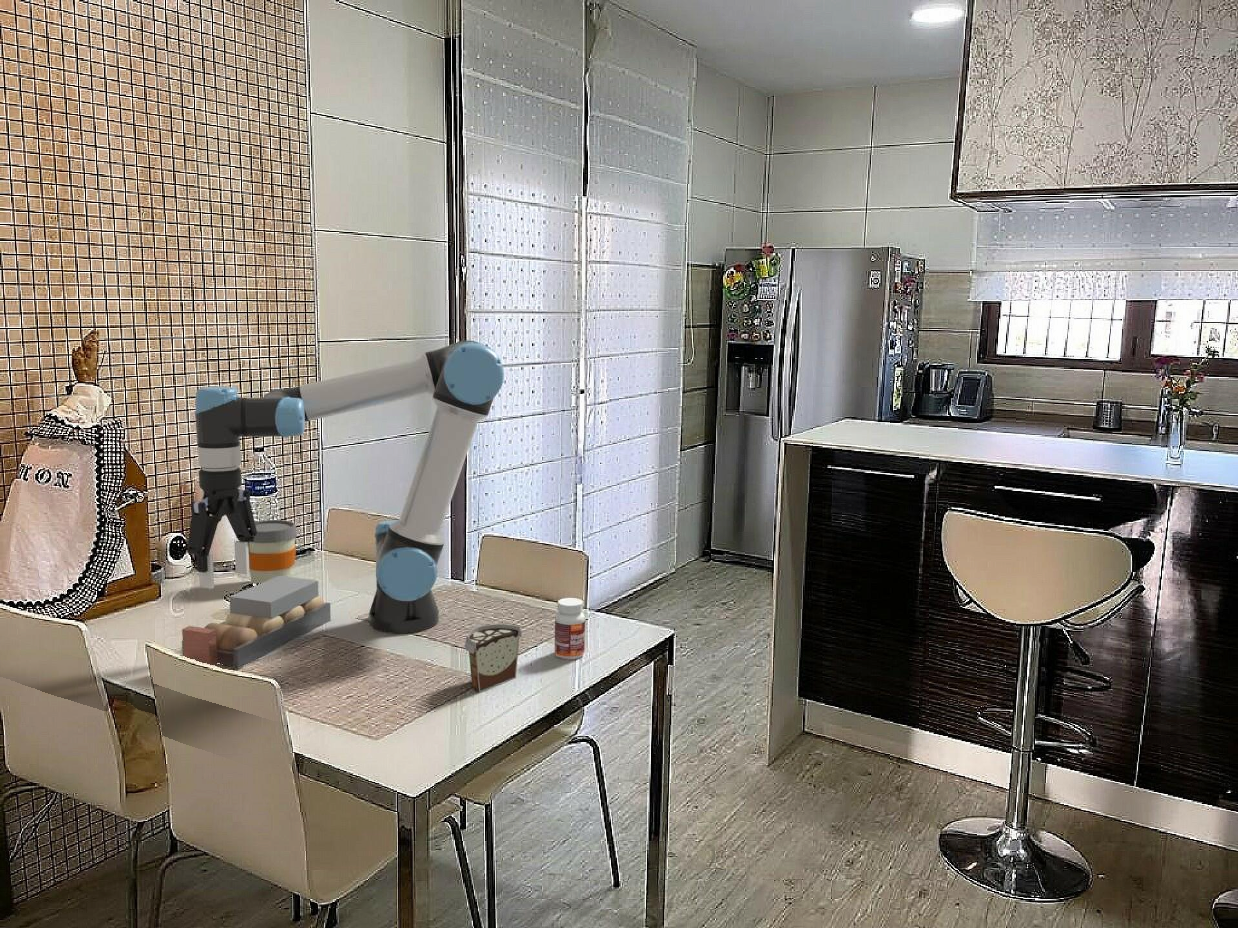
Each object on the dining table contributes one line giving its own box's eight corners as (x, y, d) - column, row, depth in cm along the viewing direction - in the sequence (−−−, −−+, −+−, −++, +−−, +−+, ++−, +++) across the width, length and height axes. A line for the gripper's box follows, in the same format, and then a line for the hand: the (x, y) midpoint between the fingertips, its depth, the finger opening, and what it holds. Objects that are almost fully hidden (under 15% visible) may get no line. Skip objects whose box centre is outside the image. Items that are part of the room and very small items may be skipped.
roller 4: (325, 617, 207) (323, 592, 206) (308, 627, 201) (306, 601, 200) (287, 611, 210) (285, 586, 209) (269, 621, 204) (267, 596, 203)
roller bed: (330, 620, 207) (329, 585, 205) (225, 676, 175) (223, 635, 174) (280, 613, 210) (279, 578, 209) (169, 666, 179) (167, 626, 177)
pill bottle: (574, 662, 186) (575, 608, 184) (548, 656, 189) (549, 602, 187) (590, 652, 191) (591, 600, 189) (564, 646, 194) (565, 594, 192)
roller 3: (305, 627, 200) (304, 601, 199) (288, 638, 195) (286, 611, 194) (266, 621, 203) (264, 595, 202) (248, 632, 198) (246, 605, 196)
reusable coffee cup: (297, 575, 239) (295, 518, 236) (299, 589, 227) (297, 530, 225) (244, 579, 234) (242, 521, 232) (244, 594, 223) (241, 533, 220)
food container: (499, 667, 183) (499, 618, 181) (521, 675, 179) (521, 625, 177) (450, 685, 173) (450, 634, 172) (473, 695, 170) (473, 643, 168)
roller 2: (285, 638, 194) (283, 611, 192) (266, 649, 188) (264, 622, 187) (245, 632, 197) (242, 605, 195) (225, 643, 191) (222, 616, 190)
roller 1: (253, 660, 186) (260, 630, 187) (233, 657, 180) (241, 626, 182) (216, 654, 188) (223, 624, 190) (195, 651, 183) (203, 621, 184)
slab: (318, 595, 204) (318, 580, 203) (271, 618, 189) (270, 602, 188) (279, 590, 207) (279, 575, 206) (230, 612, 192) (229, 596, 191)
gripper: (242, 457, 190) (247, 563, 194) (160, 475, 169) (167, 594, 173) (273, 460, 188) (277, 567, 192) (194, 479, 167) (200, 598, 171)
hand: (225, 580), depth 182 cm, fingers open, 9 cm apart
